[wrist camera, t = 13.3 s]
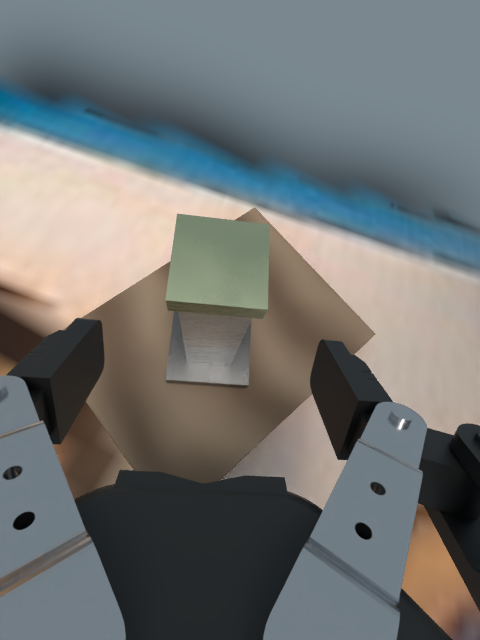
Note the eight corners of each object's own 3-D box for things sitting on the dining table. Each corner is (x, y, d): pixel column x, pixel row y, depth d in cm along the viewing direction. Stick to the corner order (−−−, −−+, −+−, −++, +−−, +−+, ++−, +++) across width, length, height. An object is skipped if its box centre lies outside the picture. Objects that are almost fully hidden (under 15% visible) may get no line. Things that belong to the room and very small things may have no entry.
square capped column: (176, 309, 25) (154, 189, 13) (248, 315, 25) (294, 206, 13) (167, 382, 23) (130, 325, 11) (245, 388, 23) (295, 338, 11)
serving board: (252, 218, 30) (254, 207, 29) (366, 339, 27) (375, 334, 26) (53, 347, 24) (44, 341, 23) (173, 518, 22) (172, 524, 20)
